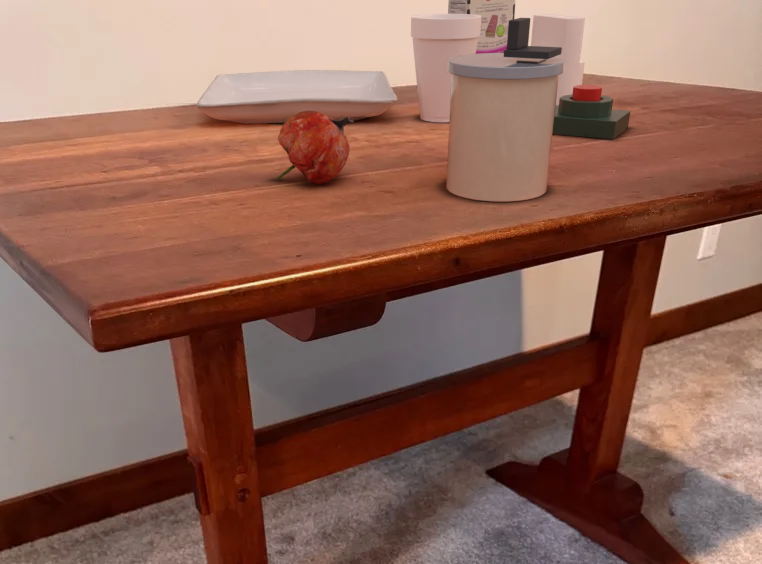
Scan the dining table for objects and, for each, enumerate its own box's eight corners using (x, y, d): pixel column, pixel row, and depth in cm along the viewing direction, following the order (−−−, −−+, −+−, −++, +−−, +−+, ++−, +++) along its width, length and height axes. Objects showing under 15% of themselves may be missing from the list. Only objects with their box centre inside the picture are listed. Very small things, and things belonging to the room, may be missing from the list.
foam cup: (489, 117, 113) (496, 15, 106) (445, 127, 107) (450, 20, 101) (439, 109, 119) (442, 12, 112) (395, 118, 114) (396, 16, 107)
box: (628, 128, 106) (632, 96, 104) (613, 139, 100) (618, 105, 98) (554, 121, 110) (557, 91, 108) (535, 132, 104) (538, 100, 102)
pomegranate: (283, 212, 82) (357, 155, 77) (241, 150, 81) (314, 89, 76) (309, 201, 88) (379, 147, 84) (271, 144, 87) (340, 86, 82)
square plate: (219, 96, 132) (217, 71, 130) (384, 93, 132) (384, 68, 130) (197, 129, 108) (194, 98, 106) (398, 125, 109) (398, 95, 107)
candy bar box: (489, 84, 140) (496, -22, 131) (510, 87, 136) (519, -22, 128) (443, 91, 134) (447, -20, 125) (464, 94, 130) (470, -19, 122)
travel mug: (563, 181, 82) (579, 54, 76) (530, 208, 74) (544, 68, 68) (466, 170, 87) (473, 49, 81) (424, 194, 79) (429, 62, 73)
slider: (561, 54, 74) (565, 18, 72) (548, 59, 71) (551, 21, 69) (517, 52, 76) (520, 17, 74) (503, 57, 73) (505, 20, 71)
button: (603, 100, 103) (605, 85, 103) (596, 104, 101) (598, 89, 100) (576, 98, 105) (577, 84, 104) (568, 102, 102) (569, 88, 101)
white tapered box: (508, 101, 125) (515, 15, 119) (556, 96, 128) (565, 13, 122) (541, 110, 117) (550, 20, 111) (592, 105, 120) (603, 17, 114)
